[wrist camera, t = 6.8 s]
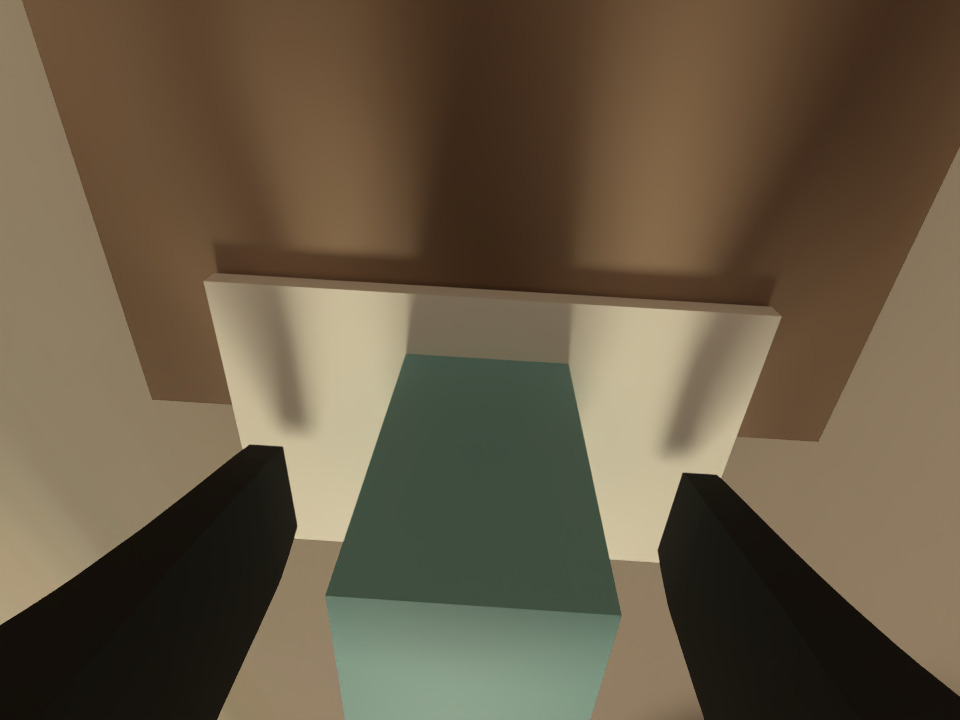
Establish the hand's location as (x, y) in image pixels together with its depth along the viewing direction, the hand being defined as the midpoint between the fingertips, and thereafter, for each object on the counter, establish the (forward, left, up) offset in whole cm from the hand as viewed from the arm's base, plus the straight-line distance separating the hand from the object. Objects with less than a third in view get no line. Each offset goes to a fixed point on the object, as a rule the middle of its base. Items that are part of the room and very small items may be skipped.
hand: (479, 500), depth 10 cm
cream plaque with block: (0, 0, -2) cm, 2 cm away
